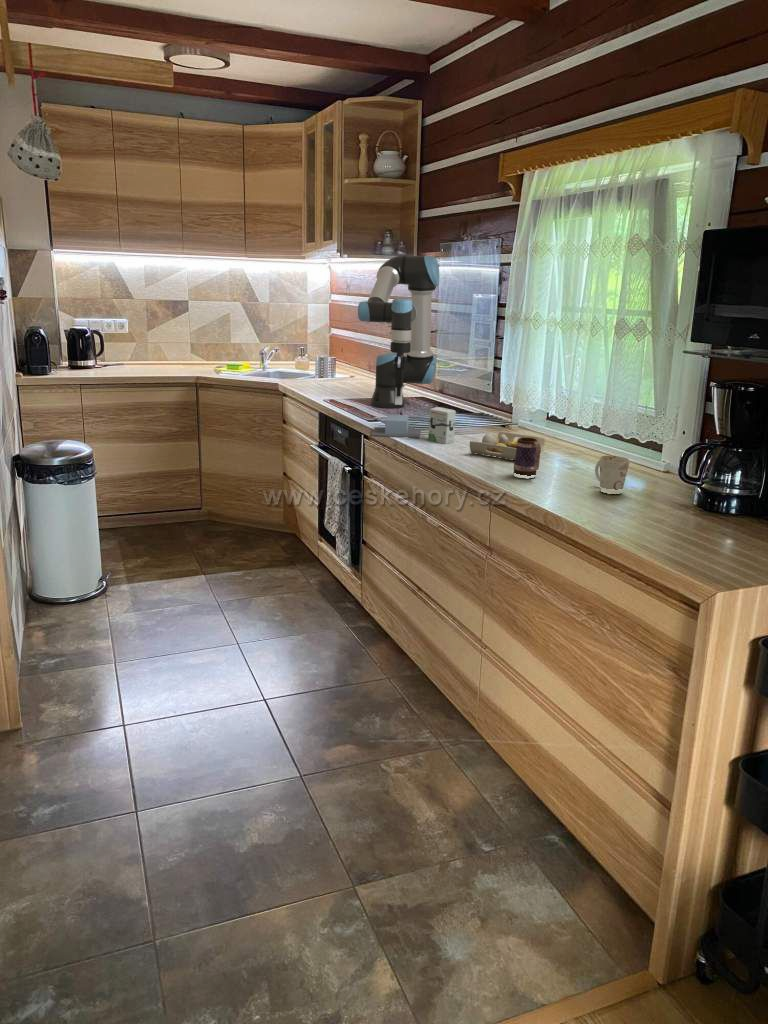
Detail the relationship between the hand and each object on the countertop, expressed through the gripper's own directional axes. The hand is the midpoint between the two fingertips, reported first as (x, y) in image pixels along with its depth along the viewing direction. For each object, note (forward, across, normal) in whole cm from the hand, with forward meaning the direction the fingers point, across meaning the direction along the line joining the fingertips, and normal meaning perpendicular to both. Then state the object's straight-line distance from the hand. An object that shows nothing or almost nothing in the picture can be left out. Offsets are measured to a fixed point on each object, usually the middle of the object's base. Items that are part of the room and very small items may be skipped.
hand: (398, 404), depth 301 cm
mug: (+10, +73, +66) cm, 99 cm away
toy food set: (+11, +29, +40) cm, 51 cm away
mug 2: (+10, +63, +44) cm, 78 cm away
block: (+7, -2, 0) cm, 7 cm away
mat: (+10, +6, 0) cm, 12 cm away
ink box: (+10, +17, +17) cm, 26 cm away
